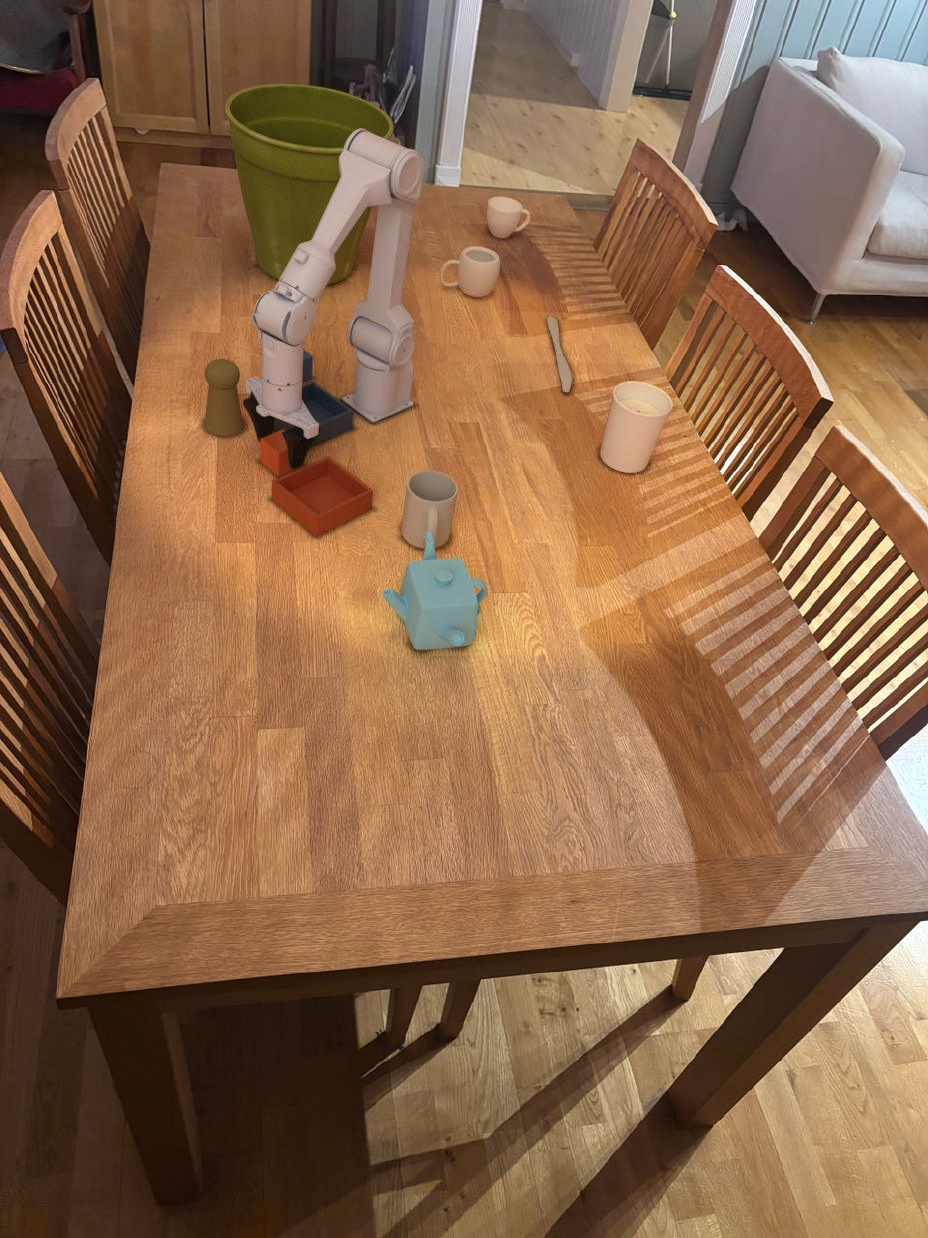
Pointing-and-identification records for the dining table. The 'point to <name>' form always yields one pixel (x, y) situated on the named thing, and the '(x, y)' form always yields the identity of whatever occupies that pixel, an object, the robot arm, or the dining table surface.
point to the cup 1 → (428, 507)
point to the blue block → (307, 366)
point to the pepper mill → (223, 398)
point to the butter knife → (560, 355)
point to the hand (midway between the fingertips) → (280, 452)
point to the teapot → (438, 601)
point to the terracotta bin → (322, 495)
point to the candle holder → (634, 425)
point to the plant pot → (296, 164)
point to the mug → (475, 271)
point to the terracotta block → (275, 453)
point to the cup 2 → (505, 216)
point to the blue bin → (322, 413)
